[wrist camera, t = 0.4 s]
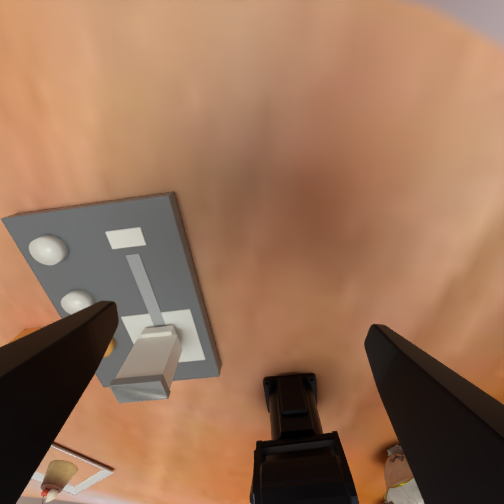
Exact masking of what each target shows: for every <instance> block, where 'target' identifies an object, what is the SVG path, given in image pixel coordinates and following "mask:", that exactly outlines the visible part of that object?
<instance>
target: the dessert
mask: <svg viewBox="0 0 504 504" xmlns="http://www.w3.org/2000/svg"><path fill="white" fill-rule="evenodd" d="M51 447H53V448H55V449H57V450H60V451H62V452H64V453H67V454H69V455H71V456H74V457H76V458H78V459H80V460H83V461H85V462H87V463H90V464H92V465H94V466H96V467H99V468H101V469H103V470H101V471H99V472H98V473H96V474H95V475H93V476H91V477H90V478H88V479H87V480H85V481H83V482H82V483H80V484H79V485H77V486H75V487H73V486H71V485H68V484H67V483H68V482H69V481H70V480H71V478H72V477H73V476H74V475H75V473H76V472H77V471H78V468H77V466H76V465H75V464H73V463H71V462H68V461H64V460H54V461H51V462H50V463H49V466H48V469H47V471H46V474H45V475H42V474H40V473H37V472H35V473H34V475H33V476H32V478H31V479H33V480H36V481H39V482H41V483H42V485H41V489H42V490H43V491H42V493H41V495H42V496H43V497H44V496H47V498H46V502H49V501H51V500H53V499H54V498H55V497H56V496H57V494H58V493H60V492H61V491H65V492H68V493H70V494H73V495H77V494H78V493H80V492H82V491H84V490H85V489H87V488H89V487H90V486H92V485H94V484H96V483H97V482H99V481H101V480H103V479H104V478H106V477H108V476H109V475H111V474H113V473H114V472H113V471H111V470H110V469H109V468H108V467H105V466H103V465H101V464H99V463H96V462H94V461H92V460H89V459H87V458H85V457H83V456H80V455H78V454H76V453H74V452H71V451H69V450H67V449H65V448H62V447H60V446H58V445H55V444H53V443H52V445H51Z"/></svg>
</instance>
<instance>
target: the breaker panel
mask: <svg viewBox="0 0 504 504" xmlns="http://www.w3.org/2000/svg"><path fill="white" fill-rule="evenodd" d="M1 220H2V222H3V223H4V225H5V227H6V228H7V230H8V231H9V233H10V235H11V236H12V238H13V240H14V241H15V243H16V245H17V246H18V248H19V249H20V251H21V253H22V254H23V256H24V258H25V259H26V261H27V263H28V264H29V266H30V267H31V269H32V271H33V272H34V274H35V276H36V277H37V279H38V281H39V282H40V284H41V286H42V287H43V289H44V290H45V292H46V294H47V295H48V297H49V299H50V300H51V302H52V304H53V305H54V307H55V308H56V310H57V312H58V313H59V315H60V317H61V318H62V319H63V318H65V317H67V316H69V315H71V314H73V313H76V312H78V311H80V310H82V309H84V308H86V307H89V306H91V305H93V304H95V303H97V302H99V301H102V300H106V301H114V302H115V303H116V305H117V311H118V317H119V324H118V327H117V330H116V332H115V334H114V336H113V338H112V340H111V342H110V344H109V346H108V348H107V351H106V353H105V355H104V357H103V359H102V361H101V363H100V365H99V367H98V369H97V371H96V372H95V374H96V376H97V377H98V379H99V381H100V382H101V384H102V385H103V387H109V385H110V383H111V381H112V379H115V378H116V376H117V374H118V372H119V371H120V369H121V367H122V365H123V364H124V362H125V360H126V358H127V357H128V355H129V353H130V351H131V349H132V348H133V346H134V344H135V342H136V341H137V339H141V338H142V336H141V333H142V331H143V330H144V329H145V328H154V327H163V326H174V329H175V332H176V335H177V336H178V338H179V341H180V344H181V347H182V352H181V355H180V359H179V362H178V365H177V368H176V371H175V374H174V377H173V380H172V381H176V380H187V379H198V378H208V377H219V376H220V370H221V363H220V359H219V356H218V352H217V348H216V345H215V341H214V337H213V334H212V330H211V326H210V323H209V319H208V315H207V312H206V308H205V304H204V301H203V297H202V293H201V290H200V286H199V282H198V279H197V275H196V271H195V268H194V264H193V260H192V257H191V253H190V249H189V246H188V242H187V238H186V235H185V231H184V227H183V224H182V220H181V216H180V213H179V209H178V205H177V202H176V198H175V194H174V192H168V193H161V194H153V195H146V196H139V197H132V198H125V199H117V200H110V201H103V202H96V203H89V204H81V205H74V206H67V207H60V208H53V209H45V210H38V211H31V212H24V213H17V214H14V215H11V216H8V217H5V218H1Z"/></svg>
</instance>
